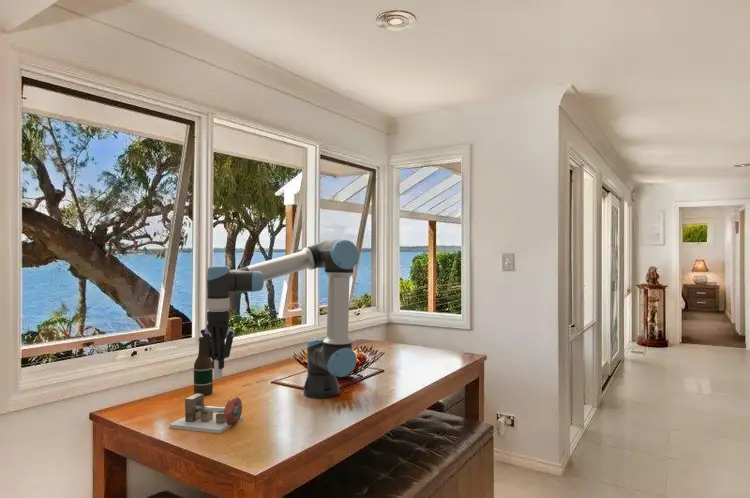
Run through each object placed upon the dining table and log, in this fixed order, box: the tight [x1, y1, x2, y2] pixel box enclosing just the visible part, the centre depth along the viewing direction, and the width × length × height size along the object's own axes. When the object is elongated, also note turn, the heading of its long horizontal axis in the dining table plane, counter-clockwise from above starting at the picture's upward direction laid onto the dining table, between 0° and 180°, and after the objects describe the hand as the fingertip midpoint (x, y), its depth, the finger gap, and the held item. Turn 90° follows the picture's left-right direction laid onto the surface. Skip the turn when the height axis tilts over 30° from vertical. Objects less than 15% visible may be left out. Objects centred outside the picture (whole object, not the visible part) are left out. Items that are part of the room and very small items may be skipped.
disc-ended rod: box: [195, 396, 243, 426], centre depth 170 cm, size 20×9×9 cm, turn 74°
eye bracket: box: [184, 393, 225, 424], centre depth 171 cm, size 14×6×8 cm, turn 74°
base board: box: [168, 412, 244, 434], centre depth 171 cm, size 20×14×1 cm
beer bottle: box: [193, 336, 214, 397], centre depth 207 cm, size 8×8×24 cm
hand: (218, 378), depth 169 cm, fingers closed
